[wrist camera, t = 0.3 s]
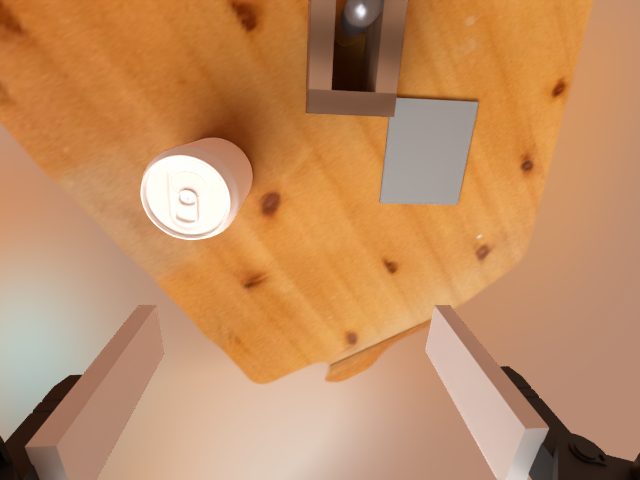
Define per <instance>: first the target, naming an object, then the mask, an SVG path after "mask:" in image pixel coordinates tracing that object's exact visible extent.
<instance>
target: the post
mask: <svg viewBox="0 0 640 480" xmlns="http://www.w3.org/2000/svg"><path fill="white" fill-rule="evenodd" d="M383 6H384V0H347V2H346V4H345V6H344V8H343V10H342V12H341V14H340V16H339V18H338V20H337V22H336V24H335V31H334V35H335V38H336V40H337V41H338V43H340V44H341V45H344V46H349V45H352V44H353V43H354V42H355V41H356V40H357V39H358V38H359V37H360V36H361V34H362V33H363V32H364V31H365V30H366V29H367V28H368V26H369V25H370V24H371V23H372V22H373V21H374V20H375V19H376V17H377V16H378V15H379V14H380V13H381V11H382V9H383Z"/></svg>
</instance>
